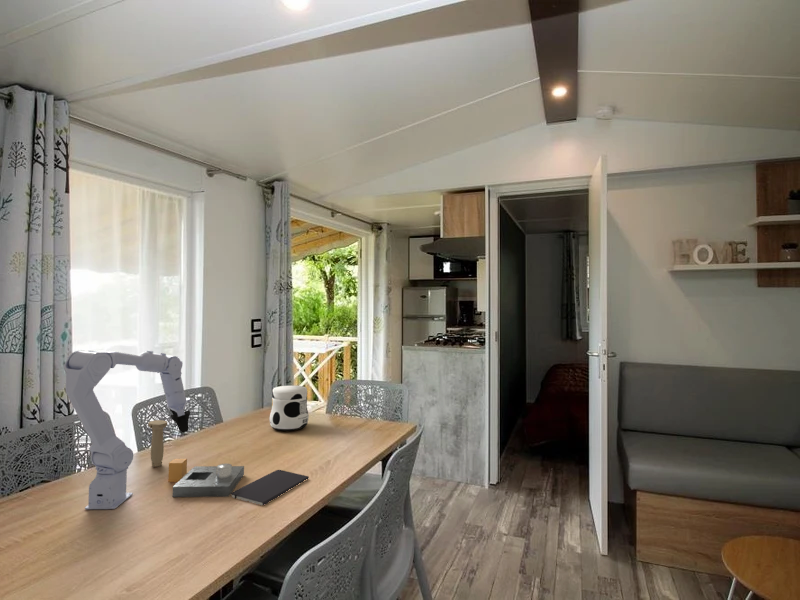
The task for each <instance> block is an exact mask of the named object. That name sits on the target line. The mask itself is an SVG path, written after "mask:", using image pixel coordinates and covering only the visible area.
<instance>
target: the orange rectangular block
mask: <svg viewBox="0 0 800 600" xmlns="http://www.w3.org/2000/svg"><path fill="white" fill-rule="evenodd" d="M187 473H188V458H173V459H172V460H171V461H169V463H168V478H167V479H168V483H177V482H178V481H179V480H180V479H182V478H183V477H184V476H185V475H186V474H187Z"/></svg>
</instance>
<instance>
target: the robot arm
mask: <svg viewBox="0 0 800 600" xmlns="http://www.w3.org/2000/svg"><path fill="white" fill-rule="evenodd" d="M116 365H123V366H135V368H136V369H137V370H138V371H140V372H149V373H157V374H159V375H160V380H161V385H162V388H163V393H164V396H165V400H166V407H167V409H168V410H169V412H170V413H171V414H170V419H172V421H174V422H175V425H176V426H177V428H178V431H179V432H180V433H181V434H183V433H186V432H188V431H189V418H190V416H191V411H190V410H186V411H185V408H186V406H187V403H190V402H191V398H190V397H186V391H185V388H184V383H183V379H182V374H183V373H182V369H183V361H181V359H180V358H179V356H175V355H167V353H165V352H164V353H163V352H161V353H154V351H153V350H146V351H143V352H141V353H139V354H138V355H137V354H130V353H126V352H119V351H114V350H113V351H112V350H88V351H85V350H82V349H80V350H79V349H78V350H75V351H74V352H72V353H71V354H70V355H69V356H68V357H67V359H66V361H65V362H64V364H63V366H62V367H63V369H64V370H65V394H66V396H67V397H68V399H69V401H70V403H71V405H72V407H73V409H74V411H75V412H76V415H77V416H78V419H79V420H80V422H81V424H82V426H83V428H84V430H85V432H86V434H87V435H88V438H89V440H90V441H91V443H92V444H91V445H90V446H89V448H88V449H89V451H90V454H91V455H90V461H91V463H92V465H94V466H95V471H96V473H95V474H96V475H95V477H94V479H93V480H92V481H91V482H90V483H89V485H88V503H87V505H86V506H84V509H85V510H114V509H116V508H117V507H119V506H120V505H122V504H123V503H124V502H125V501H126V500H128V499H129V498H130V497H131V496H133V494H134V493H133V492H127V484H128V483H127V477H128V475H127V473H128V469H129V467H130V466H131V464H132V463H133V460H134V452H133V450H132V449H131V448H130V447H128V446H127V445H126V443H125V442H124V441H123V440H122V439H120V438H119V437H117V435H116V433H115V432H114V430H113V428H112V425H111V424H110V422H109V419H108V418H107V416H106V414H105V411H104V410H103V407H102V405H101V404H100V402H99V400H98V397H97V396H96V393H95V391H94V388H95V387H96V386H97V385H98V384H99V383H100V382H101V380H102V379H103V378H104V377H105V376H106V375H107V374H108V373H109V372H110V369H114V368H115V367H116Z"/></svg>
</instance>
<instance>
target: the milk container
mask: <svg viewBox="0 0 800 600" xmlns="http://www.w3.org/2000/svg"><path fill="white" fill-rule="evenodd" d="M271 395H272V397H271V410H270V413H269V424H270V427H271V428H272V429H275V431H276V430H277V431H283V432H284V431H285V432H291V431H298V430H300V429H303V428H305V427H306V426H307V425H308V423H309V414H310V413H309V411H308V388H307V387H306V386H303V385H281V386H280V385H279V386H275V387H273V388H272V392H271Z"/></svg>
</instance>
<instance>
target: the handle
mask: <svg viewBox="0 0 800 600" xmlns="http://www.w3.org/2000/svg"><path fill="white" fill-rule="evenodd" d="M147 424H148V425H147V426H148V427H149V429H151V443H150V461H151V466H152V468H158V467H161V466H162V465H163V460H164V459H163V458H164V449H165V448H164V428H166V427H167V426H168V421H167V420H163V419H156V420H151V421H148V423H147Z"/></svg>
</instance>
